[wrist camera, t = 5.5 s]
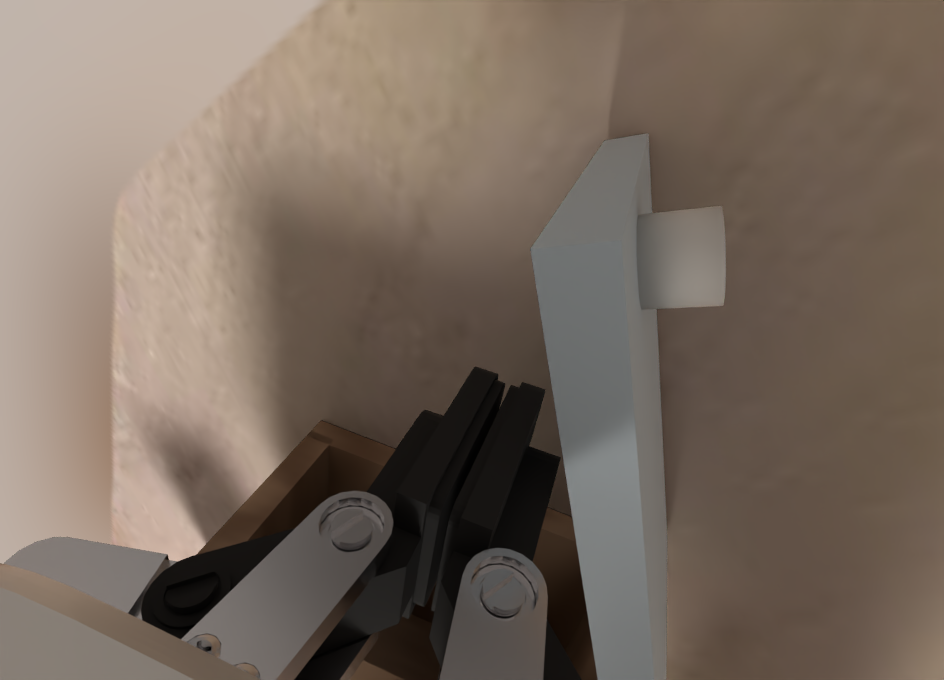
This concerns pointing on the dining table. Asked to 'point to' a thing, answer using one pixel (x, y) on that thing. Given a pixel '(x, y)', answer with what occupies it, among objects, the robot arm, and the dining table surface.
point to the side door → (620, 384)
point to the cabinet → (408, 644)
